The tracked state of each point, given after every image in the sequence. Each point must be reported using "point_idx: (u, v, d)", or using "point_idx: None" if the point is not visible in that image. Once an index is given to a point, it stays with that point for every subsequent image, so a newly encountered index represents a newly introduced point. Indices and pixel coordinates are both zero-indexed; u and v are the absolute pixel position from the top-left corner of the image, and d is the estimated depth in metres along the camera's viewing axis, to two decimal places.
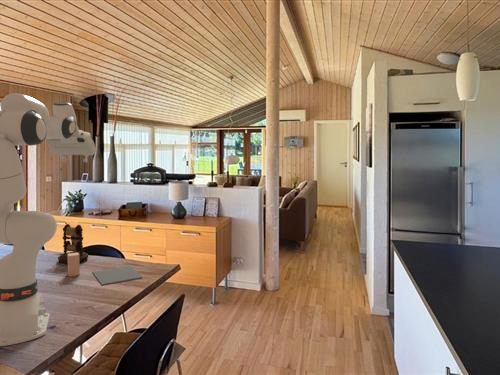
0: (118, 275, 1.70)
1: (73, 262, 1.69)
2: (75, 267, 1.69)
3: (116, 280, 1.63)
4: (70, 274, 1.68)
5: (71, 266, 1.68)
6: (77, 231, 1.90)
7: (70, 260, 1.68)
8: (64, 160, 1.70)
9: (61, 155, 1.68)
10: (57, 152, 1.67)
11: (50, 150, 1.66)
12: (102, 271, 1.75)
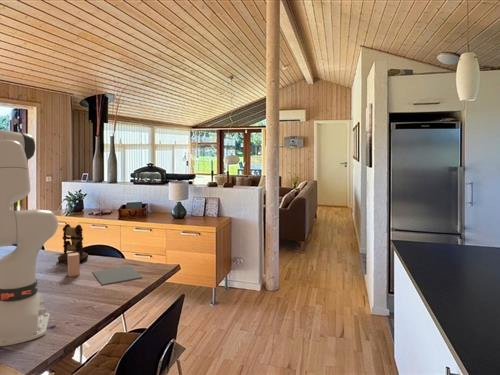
0: (118, 275, 1.70)
1: (73, 262, 1.69)
2: (75, 267, 1.69)
3: (116, 280, 1.63)
4: (70, 274, 1.68)
5: (71, 266, 1.68)
6: (77, 231, 1.90)
7: (70, 260, 1.68)
8: None
9: None
10: None
11: None
12: (102, 271, 1.75)
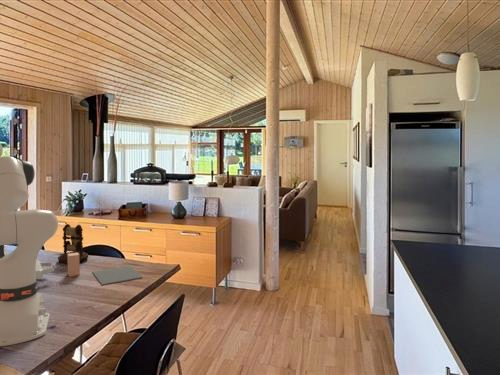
0: (118, 275, 1.70)
1: (73, 262, 1.69)
2: (75, 267, 1.69)
3: (116, 280, 1.63)
4: (70, 274, 1.68)
5: (71, 266, 1.68)
6: (77, 231, 1.90)
7: (70, 260, 1.68)
8: (50, 267, 1.61)
9: None
10: (38, 268, 1.57)
11: (36, 270, 1.54)
12: (102, 271, 1.75)
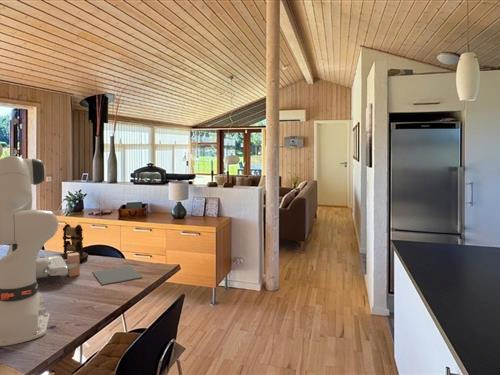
0: (118, 275, 1.70)
1: (73, 262, 1.69)
2: (75, 267, 1.69)
3: (116, 280, 1.63)
4: (70, 274, 1.68)
5: None
6: (77, 231, 1.90)
7: (70, 260, 1.68)
8: (73, 263, 1.68)
9: (67, 264, 1.66)
10: (63, 264, 1.63)
11: (61, 266, 1.60)
12: (102, 271, 1.75)
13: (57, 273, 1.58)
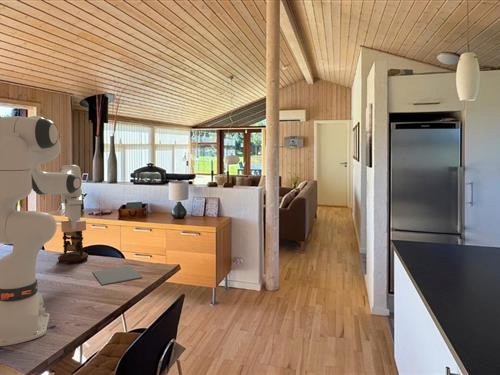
0: (118, 275, 1.70)
1: None
2: None
3: (116, 280, 1.63)
4: None
5: None
6: (77, 231, 1.90)
7: None
8: None
9: (68, 218, 1.71)
10: (65, 213, 1.73)
11: None
12: (102, 271, 1.75)
13: None
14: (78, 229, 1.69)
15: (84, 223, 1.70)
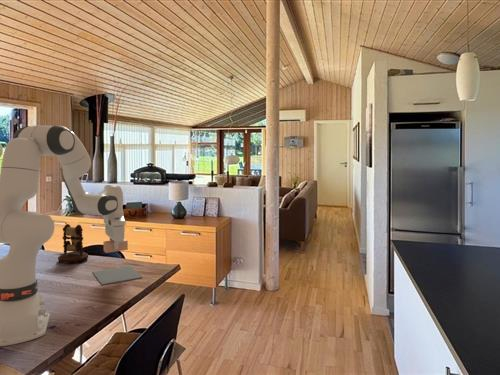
0: (118, 275, 1.70)
1: None
2: None
3: (116, 280, 1.63)
4: None
5: None
6: (77, 231, 1.90)
7: None
8: None
9: (110, 237, 1.72)
10: (106, 233, 1.73)
11: (105, 229, 1.76)
12: (102, 271, 1.75)
13: None
14: (120, 249, 1.69)
15: (126, 243, 1.71)
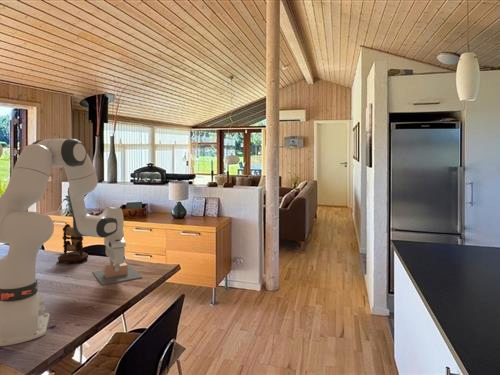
0: None
1: None
2: None
3: (116, 280, 1.63)
4: None
5: None
6: None
7: None
8: (110, 264, 1.73)
9: (109, 258, 1.73)
10: (107, 253, 1.74)
11: None
12: (102, 271, 1.75)
13: None
14: (120, 273, 1.70)
15: (126, 267, 1.71)
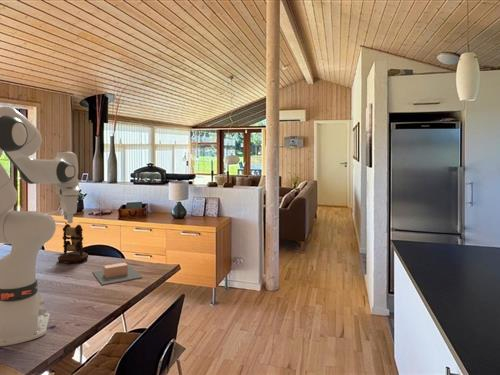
0: None
1: None
2: None
3: (116, 280, 1.63)
4: None
5: None
6: (77, 231, 1.90)
7: None
8: (64, 216, 1.56)
9: (63, 210, 1.57)
10: (61, 205, 1.57)
11: (60, 202, 1.59)
12: (102, 271, 1.75)
13: None
14: (120, 273, 1.70)
15: (126, 267, 1.71)
